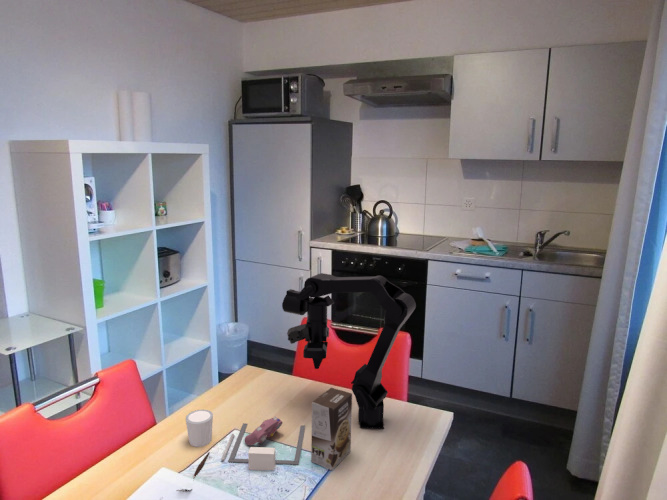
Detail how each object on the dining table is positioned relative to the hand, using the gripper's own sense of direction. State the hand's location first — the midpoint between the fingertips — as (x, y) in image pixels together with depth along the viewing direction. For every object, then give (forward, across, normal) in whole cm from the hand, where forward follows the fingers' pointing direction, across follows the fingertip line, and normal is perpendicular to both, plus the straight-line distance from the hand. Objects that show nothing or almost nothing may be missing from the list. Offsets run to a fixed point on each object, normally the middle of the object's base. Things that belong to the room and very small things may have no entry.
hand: (316, 368), depth 139 cm
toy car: (+12, +18, -12) cm, 25 cm away
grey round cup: (+12, +19, -29) cm, 37 cm away
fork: (+13, +32, -26) cm, 43 cm away
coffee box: (+12, +24, +6) cm, 27 cm away
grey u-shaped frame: (+12, +21, -12) cm, 27 cm away
